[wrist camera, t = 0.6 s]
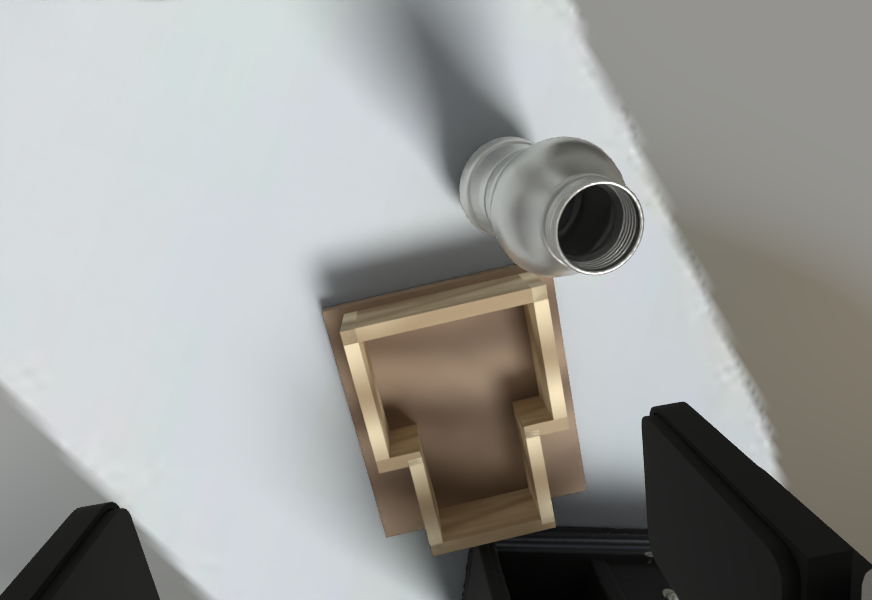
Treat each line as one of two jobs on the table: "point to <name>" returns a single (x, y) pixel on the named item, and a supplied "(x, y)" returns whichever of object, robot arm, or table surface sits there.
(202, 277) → the table surface
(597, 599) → the black drawer cabinet
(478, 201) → the plastic bottle
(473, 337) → the keyhole plate
